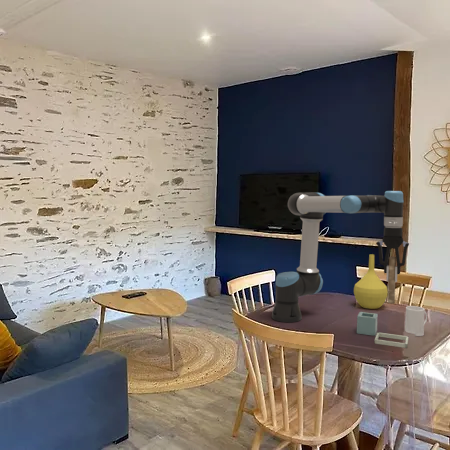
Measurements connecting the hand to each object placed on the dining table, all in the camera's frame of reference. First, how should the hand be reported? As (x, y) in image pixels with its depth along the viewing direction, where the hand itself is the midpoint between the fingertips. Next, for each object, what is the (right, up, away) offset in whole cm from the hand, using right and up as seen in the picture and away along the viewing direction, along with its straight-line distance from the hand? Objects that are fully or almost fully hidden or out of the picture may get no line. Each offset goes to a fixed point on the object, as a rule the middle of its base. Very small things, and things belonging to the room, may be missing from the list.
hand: (391, 281), depth 199 cm
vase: (+10, -22, +62) cm, 67 cm away
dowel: (0, -9, +1) cm, 10 cm away
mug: (+18, -26, +16) cm, 36 cm away
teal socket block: (-6, -26, +14) cm, 31 cm away
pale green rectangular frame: (0, -27, +1) cm, 27 cm away
